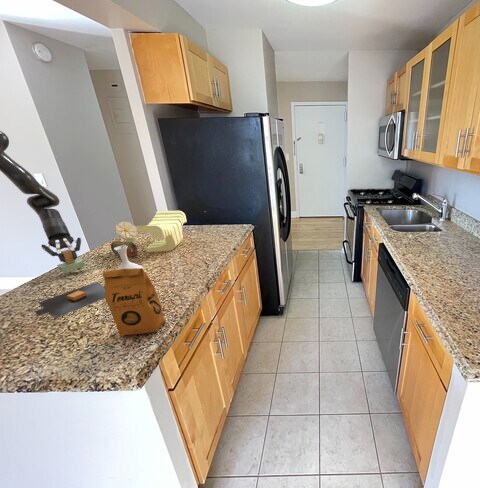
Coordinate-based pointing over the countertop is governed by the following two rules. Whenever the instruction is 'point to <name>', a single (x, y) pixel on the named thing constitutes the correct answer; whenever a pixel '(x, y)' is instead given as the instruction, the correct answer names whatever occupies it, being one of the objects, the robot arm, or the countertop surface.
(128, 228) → the flower in vase
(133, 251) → the multicolored arch
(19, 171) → the robot arm
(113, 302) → the coffee package
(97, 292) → the griddle pan
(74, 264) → the scrub brush
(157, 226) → the slatted curved stool
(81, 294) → the orange flat rounded piece
